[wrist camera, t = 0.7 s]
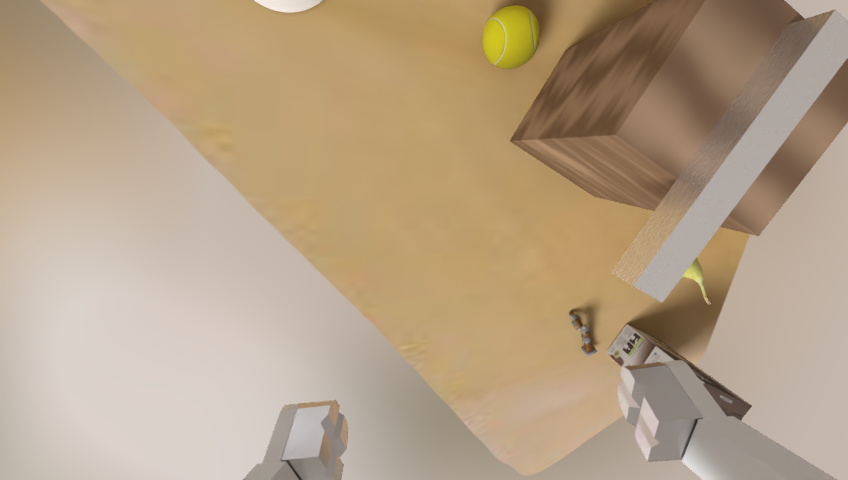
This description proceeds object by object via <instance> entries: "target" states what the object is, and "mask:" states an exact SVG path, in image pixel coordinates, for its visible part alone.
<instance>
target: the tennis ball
mask: <svg viewBox="0 0 848 480" xmlns="http://www.w3.org/2000/svg"><path fill="white" fill-rule="evenodd" d="M539 39H540V30H539V24H538V21H537V19H536V17H535V15H534V14H533V13H532V12H531V11H530V10H529V9H528V8H526V7H523V6H518V5H514V6H507V7H504V8H502V9H500V10H498V11H497V12H496V13H494V14H493V15H492V16H491V17H490V18H489V19H488V21H487V23H486V25H485V28H484V32H483V40H482V41H483V49H484V52H485V55H486V57H487V58H488V60H489V61H490V62H491V63H492V64H493V65H494V66H496V67H498V68H502V69H512V68H516V67H519V66H521V65H523V64H525V63H526V62H527V61H528V60H530V59H531V58H532V56H533V55H534V54H535V52H536V50H537V47H538V44H539Z"/></svg>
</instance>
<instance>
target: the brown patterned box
mask: <svg viewBox="0 0 848 480" xmlns="http://www.w3.org/2000/svg"><path fill="white" fill-rule="evenodd" d="M803 19H804V18H803V17H802V16H801V15H800V14H799V13H798V12H796V11H795V10H794V9H793V8H792V7H791V6H790V5H789V4H788V3H787V2H786V1H784V0H656V1H654V2H652V3H650V4H648V5H647V6H645V7H643V8H641V9H640V10H638V11H636V12H634V13H632V14H631V15H629V16H627V17H625V18H623V19H622V20H620V21H618V22H616V23H614V24H613V25H611V26H609V27H607V28H606V29H604V30H602V31H600V32H598V33H597V34H595V35H593V36H591V37H589V38H588V39H586V40H584V41H582V42H581V43H579V44H577V45H575V46H573V47H572V48H570V49H568V50H566V51H565V52H564V54H563V56H562V57H561V59H560V61H559V62H558V64H557V65H556V67H555V69H554V70H553V72H552V74H551V75H550V77H549V78H548V80H547V82H546V83H545V85H544V86H543V88H542V90H541V91H540V93H539V95H538V96H537V98H536V99H535V101H534V103H533V104H532V106H531V108H530V109H529V111H528V112H527V114H526V116H525V117H524V119H523V121H522V122H521V124H520V125H519V127H518V129H517V130H516V132H515V134H514V135H513V137H512V138H511V140H510V142H512V143H513V144H515V145H517V146H518V147H520V148H521V149H523V150H524V151H526V152H527V153H529V154H530V155H532V156H533V157H535V158H536V159H538V160H539V161H541V162H543V163H544V164H546V165H547V166H549V167H550V168H552V169H553V170H555V171H556V172H558V173H559V174H561V175H562V176H564V177H565V178H567V179H569V180H570V181H572V182H573V183H575V184H576V185H578V186H579V187H581V188H582V189H584V190H585V191H587V192H588V193H590V194H591V195H593V196H595V197H598V198H603V199H607V200H611V201H615V202H619V203H623V204H627V205H632V206H636V207H640V208H644V209H648V210H652V211H655V209H656V208H657V207H658V205H659V204H660V202H661V201H662V200H663V198H664V197H665V195H666V194H667V193H668V191H669V190H670V188H671V187H672V186H673V184H674V183H675V181H676V180H677V179H678V177H679V176H680V174H681V173H682V172H683V170H684V169H685V167H686V166H687V165H688V163H689V162H690V160H691V159H692V158H693V156H694V155H695V153H696V152H697V151H698V149H699V148H700V146H701V145H702V144H703V142H704V141H705V140H706V138H707V137H708V135H709V134H710V133H711V131H712V130H713V128H714V127H715V126H716V124H717V123H718V121H719V120H720V119H721V117H722V116H723V114H724V113H725V112H726V110H727V109H728V107H729V106H730V105H731V103H732V102H733V100H734V99H735V98H736V96H737V95H738V93H739V92H740V91H741V89H742V88H743V86H744V85H745V84H746V82H747V81H748V79H749V78H750V77H751V75H752V74H753V72H754V71H755V70H756V68H757V67H758V65H759V64H760V63H761V61H762V60H763V58H764V57H765V56H766V54H767V53H768V51H769V50H770V49H771V47H772V46H773V44H774V43H775V42H776V40H777V39H778V38H779V36H780V35H781V33H782V32H783V31H784V29H785V28H786V26H787V25H788V24H790V23H794V22H797V21H800V20H803ZM847 122H848V58H847V59H846V61H845V62H844V63H843V65H842V66H841V67H840V69H839V70H838V71H837V72H836V74H835V75H834V76H833V78H832V79H831V80H830V82H829V83H828V84H827V86H826V87H825V88H824V90H823V91H822V92H821V94H820V95H819V96H818V98H817V99H816V100H815V102H814V103H813V104H812V106H811V107H810V108H809V109H808V111H807V112H806V113H805V115H804V116H803V117H802V119H801V120H800V121H799V123H798V124H797V125H796V127H795V128H794V129H793V131H792V132H791V133H790V135H789V136H788V137H787V139H786V140H785V141H784V143H783V144H782V145H781V146H780V148H779V149H778V150H777V152H776V153H775V154H774V156H773V157H772V158H771V160H770V161H769V162H768V164H767V165H766V166H765V168H764V169H763V170H762V172H761V173H760V174H759V176H758V177H757V178H756V180H755V181H754V182H753V183H752V185H751V186H750V187H749V189H748V190H747V191H746V193H745V194H744V195H743V197H742V198H741V199H740V201H739V202H738V203H737V205H736V206H735V207H734V209H733V210H732V211H731V213H730V214H729V215H728V217H727V218H726V219H725V220H724V222H723V223H722V224H721V226H720V227H723V228H727V229H732V230H736V231H740V232H744V233H748V234H752V235H757V236H759V235H760V234H761V232H762V231H763V230H764V228H765V227H766V226H767V225H768V223H769V222H770V221H771V220H772V218H773V217H774V216H775V214H776V213H777V212H778V211H779V209H780V208H781V207H782V205H783V204H784V203H785V202H786V200H787V199H788V198H789V196H790V195H791V194H792V193H793V191H794V190H795V189H796V187H797V186H798V185H799V184H800V182H801V181H802V180H803V179H804V177H805V176H806V174H807V173H808V172H809V171H810V170H811V168H812V167H813V166H814V164H815V163H816V162H817V161H818V159H819V158H820V157H821V155H822V154H823V153H824V152H825V150H826V149H827V148H828V146H829V145H830V144H831V143H832V141H833V140H834V139H835V138H836V136H837V135H838V134H839V132H840V131H841V130H842V129H843V127H844V126H845V125H846V123H847Z"/></svg>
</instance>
